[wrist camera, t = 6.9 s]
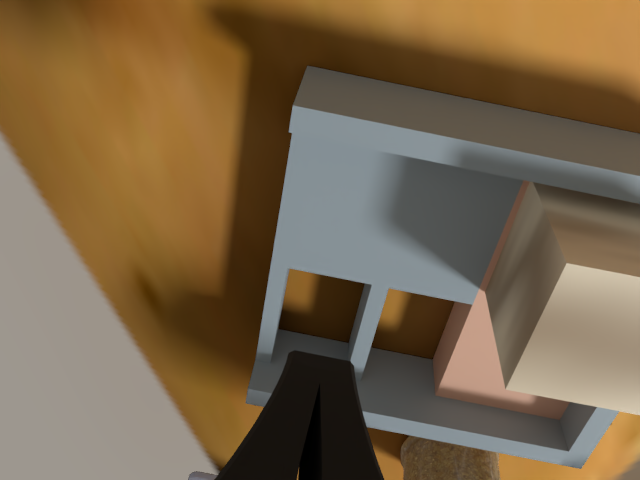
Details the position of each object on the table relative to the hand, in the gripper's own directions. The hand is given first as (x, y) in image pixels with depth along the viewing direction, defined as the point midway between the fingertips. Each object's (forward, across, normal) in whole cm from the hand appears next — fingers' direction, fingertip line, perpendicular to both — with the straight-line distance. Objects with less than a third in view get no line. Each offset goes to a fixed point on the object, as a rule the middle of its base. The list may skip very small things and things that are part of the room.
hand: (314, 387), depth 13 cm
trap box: (+10, -5, +2) cm, 11 cm away
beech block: (+8, -8, 0) cm, 11 cm away
